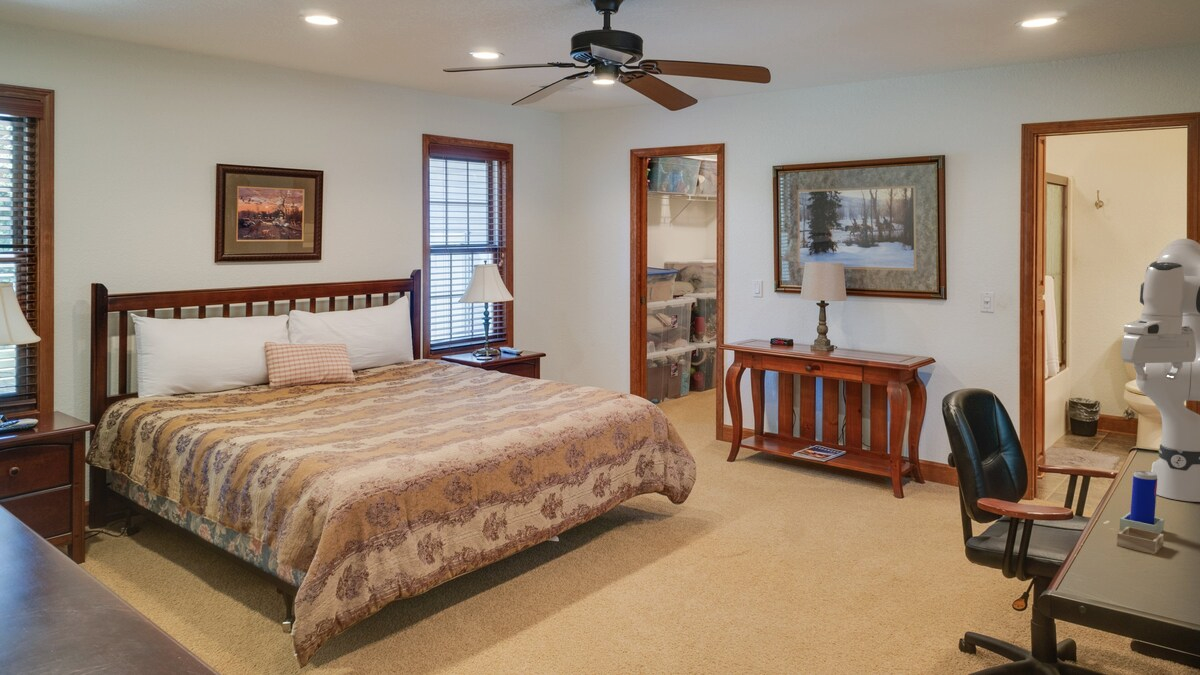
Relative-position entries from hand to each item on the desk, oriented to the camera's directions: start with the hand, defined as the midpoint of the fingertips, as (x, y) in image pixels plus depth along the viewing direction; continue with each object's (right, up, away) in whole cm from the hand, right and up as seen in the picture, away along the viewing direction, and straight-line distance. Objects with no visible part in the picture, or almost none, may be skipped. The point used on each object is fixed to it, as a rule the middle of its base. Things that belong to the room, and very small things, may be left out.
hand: (1157, 380), depth 216 cm
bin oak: (-12, -40, -13) cm, 43 cm away
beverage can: (-5, -39, -2) cm, 39 cm away
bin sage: (-5, -38, -2) cm, 39 cm away
